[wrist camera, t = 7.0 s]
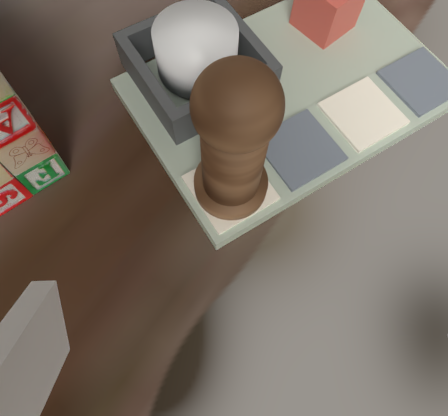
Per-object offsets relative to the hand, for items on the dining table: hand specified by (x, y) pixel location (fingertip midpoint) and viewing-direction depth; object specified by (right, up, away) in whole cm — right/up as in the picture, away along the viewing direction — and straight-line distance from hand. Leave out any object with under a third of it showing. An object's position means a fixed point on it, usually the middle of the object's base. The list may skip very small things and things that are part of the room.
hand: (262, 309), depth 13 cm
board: (+4, +13, +19) cm, 23 cm away
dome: (-3, +14, +17) cm, 22 cm away
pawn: (-1, +5, +14) cm, 15 cm away
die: (+7, +19, +21) cm, 29 cm away
